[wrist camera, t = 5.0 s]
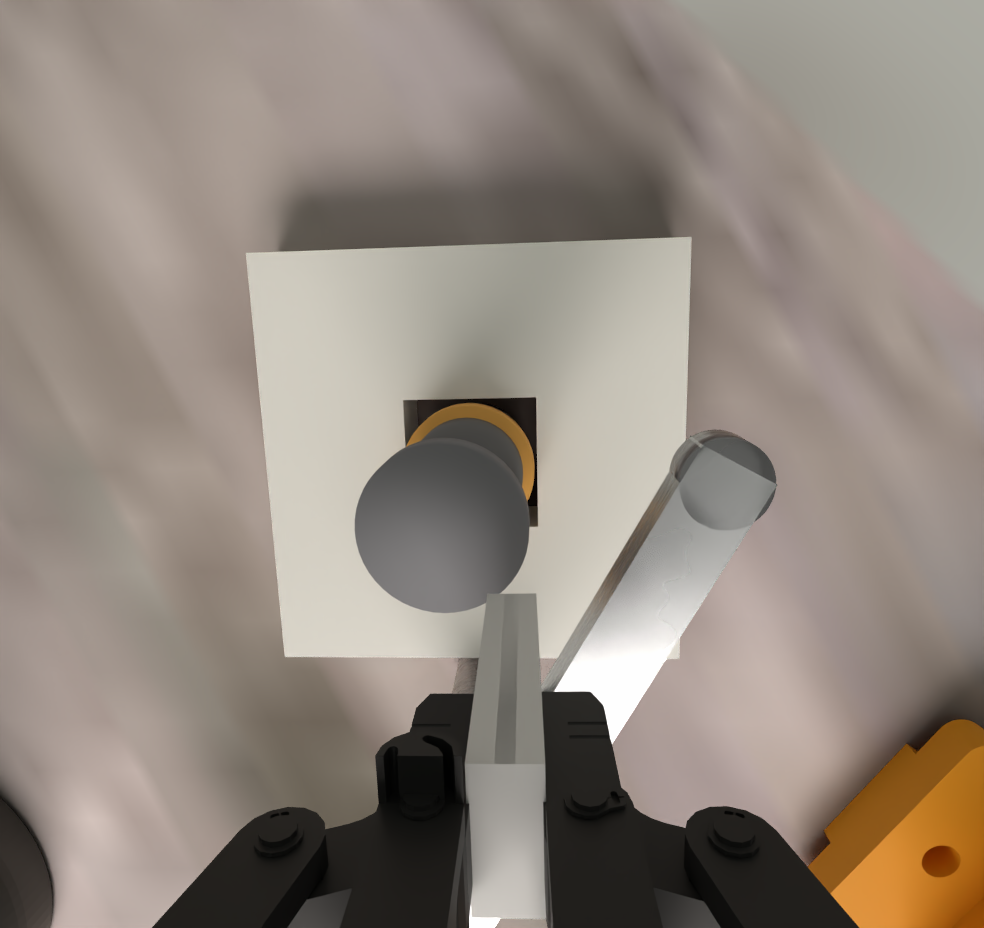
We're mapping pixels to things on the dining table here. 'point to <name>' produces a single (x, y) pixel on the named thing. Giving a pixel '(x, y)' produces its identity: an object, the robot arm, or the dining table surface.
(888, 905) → the bracket
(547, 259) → the socket block
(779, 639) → the dining table surface
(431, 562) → the plug
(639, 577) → the handle
